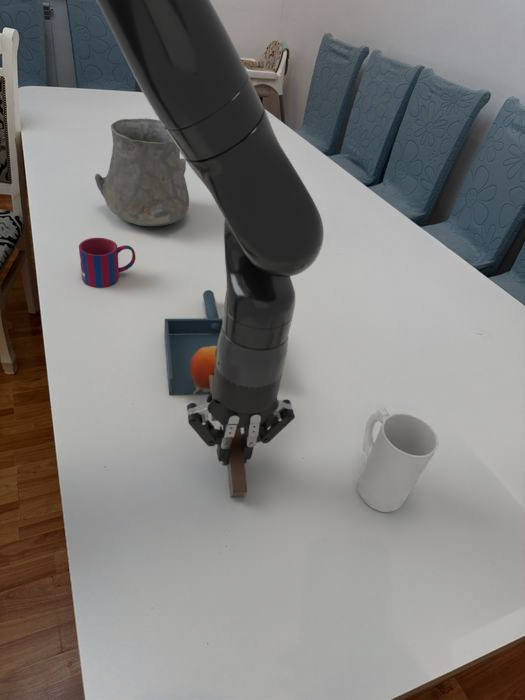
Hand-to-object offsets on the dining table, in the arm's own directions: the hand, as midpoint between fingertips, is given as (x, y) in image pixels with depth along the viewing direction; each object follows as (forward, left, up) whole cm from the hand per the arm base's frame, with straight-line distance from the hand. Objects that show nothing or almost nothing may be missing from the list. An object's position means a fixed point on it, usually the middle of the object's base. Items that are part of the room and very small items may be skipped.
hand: (233, 458), depth 65 cm
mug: (+19, -4, -2) cm, 20 cm away
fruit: (-1, +11, +1) cm, 11 cm away
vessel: (-9, +72, -2) cm, 72 cm away
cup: (-17, +46, -2) cm, 49 cm away
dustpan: (+1, +26, -2) cm, 26 cm away
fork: (0, +3, +1) cm, 3 cm away
